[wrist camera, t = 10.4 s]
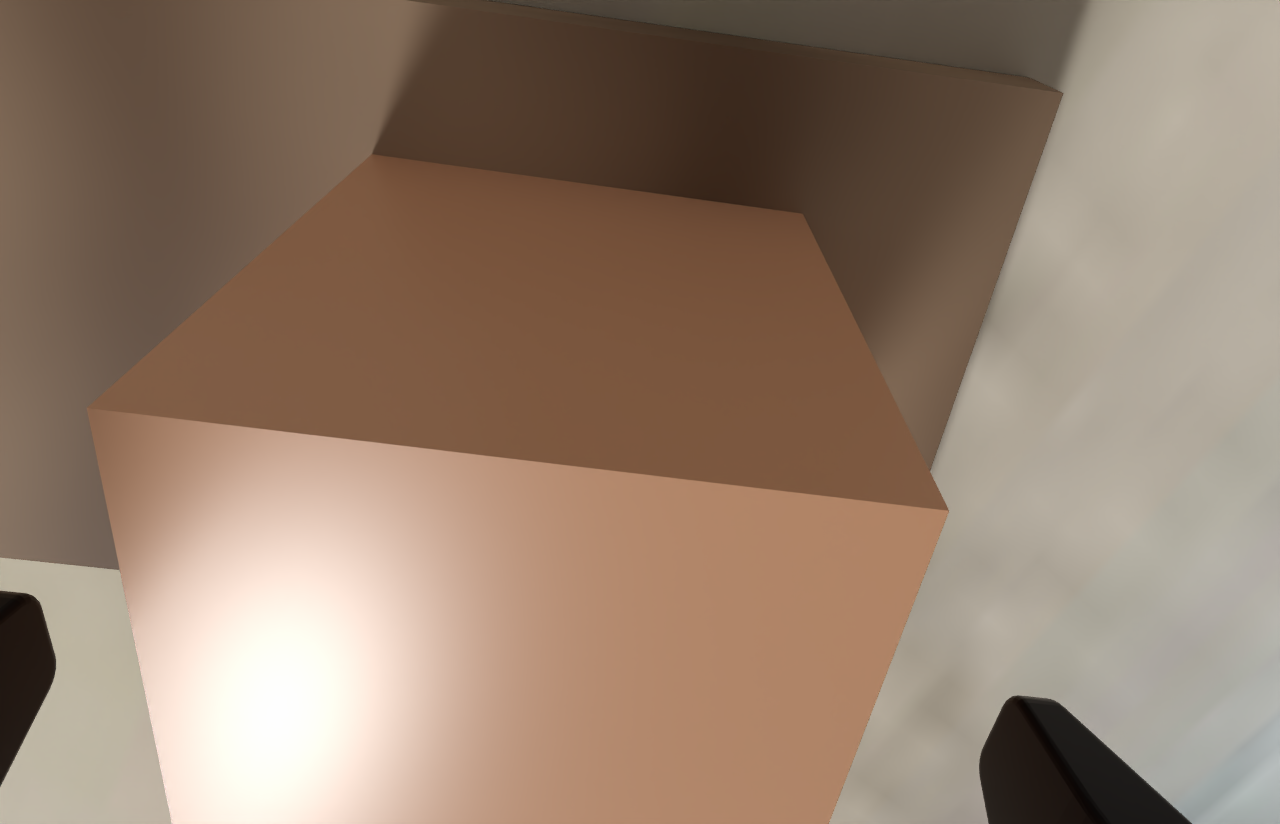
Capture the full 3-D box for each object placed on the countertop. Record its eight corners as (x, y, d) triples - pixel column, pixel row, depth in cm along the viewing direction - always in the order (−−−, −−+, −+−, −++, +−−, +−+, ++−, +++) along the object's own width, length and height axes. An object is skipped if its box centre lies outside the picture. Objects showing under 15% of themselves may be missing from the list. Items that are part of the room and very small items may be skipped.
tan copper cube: (377, 508, 15) (191, 917, 9) (371, 153, 12) (86, 409, 6) (724, 547, 15) (772, 968, 9) (802, 214, 12) (950, 511, 6)
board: (-537, 455, 16) (-620, 492, 15) (-961, -206, 11) (-1125, -216, 10) (854, 603, 18) (867, 647, 16) (1029, 77, 13) (1063, 93, 12)
